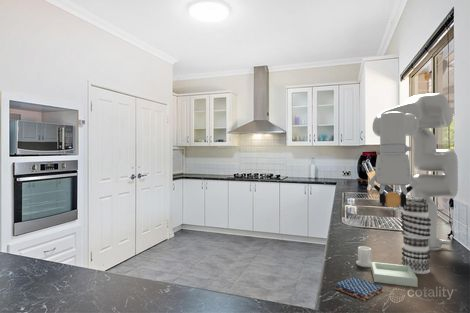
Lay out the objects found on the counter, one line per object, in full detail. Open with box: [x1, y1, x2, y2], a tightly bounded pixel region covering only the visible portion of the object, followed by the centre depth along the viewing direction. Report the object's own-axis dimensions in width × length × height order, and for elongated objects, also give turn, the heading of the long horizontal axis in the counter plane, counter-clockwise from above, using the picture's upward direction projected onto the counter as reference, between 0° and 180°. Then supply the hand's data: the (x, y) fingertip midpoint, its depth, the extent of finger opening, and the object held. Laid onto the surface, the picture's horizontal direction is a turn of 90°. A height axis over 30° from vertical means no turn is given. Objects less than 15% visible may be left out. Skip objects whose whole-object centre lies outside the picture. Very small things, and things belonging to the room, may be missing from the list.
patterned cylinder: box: [400, 196, 431, 275], centre depth 110 cm, size 9×9×25 cm
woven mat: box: [334, 276, 384, 301], centre depth 93 cm, size 10×11×2 cm
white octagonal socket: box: [355, 245, 372, 268], centre depth 115 cm, size 6×6×6 cm
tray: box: [370, 261, 419, 288], centre depth 103 cm, size 12×12×2 cm
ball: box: [385, 191, 401, 208], centre depth 103 cm, size 5×5×5 cm
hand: (392, 205), depth 103 cm, fingers closed on ball, 4 cm apart
